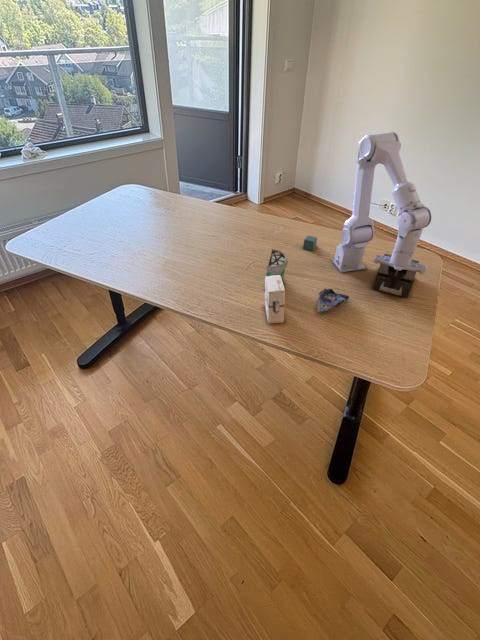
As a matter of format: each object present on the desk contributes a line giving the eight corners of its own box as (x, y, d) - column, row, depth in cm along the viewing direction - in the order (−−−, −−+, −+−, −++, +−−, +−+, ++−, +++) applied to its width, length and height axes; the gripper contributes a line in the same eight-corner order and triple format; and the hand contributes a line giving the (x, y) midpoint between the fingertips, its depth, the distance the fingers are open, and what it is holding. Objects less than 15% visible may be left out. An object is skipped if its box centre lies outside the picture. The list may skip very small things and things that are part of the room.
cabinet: (407, 297, 113) (413, 280, 108) (372, 288, 117) (377, 271, 112) (412, 277, 121) (419, 261, 117) (380, 269, 125) (384, 253, 121)
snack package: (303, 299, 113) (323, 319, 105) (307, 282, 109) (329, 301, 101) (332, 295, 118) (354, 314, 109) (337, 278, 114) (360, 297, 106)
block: (312, 250, 136) (314, 241, 134) (303, 248, 138) (304, 239, 135) (315, 246, 139) (317, 237, 136) (306, 244, 140) (307, 235, 138)
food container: (283, 294, 115) (286, 269, 108) (265, 292, 116) (266, 267, 109) (287, 274, 124) (289, 249, 117) (270, 272, 125) (271, 248, 118)
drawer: (403, 305, 108) (408, 292, 105) (371, 296, 112) (374, 283, 109) (410, 278, 120) (415, 265, 116) (381, 271, 123) (384, 258, 120)
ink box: (263, 306, 110) (264, 275, 102) (279, 305, 110) (281, 274, 103) (267, 324, 104) (269, 292, 96) (283, 323, 104) (286, 291, 96)
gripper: (376, 249, 101) (365, 287, 110) (430, 261, 96) (414, 299, 105) (381, 239, 106) (370, 276, 114) (432, 249, 100) (417, 287, 109)
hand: (391, 286), depth 110 cm, fingers closed
